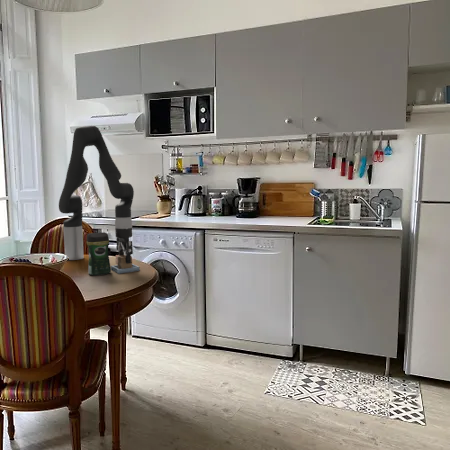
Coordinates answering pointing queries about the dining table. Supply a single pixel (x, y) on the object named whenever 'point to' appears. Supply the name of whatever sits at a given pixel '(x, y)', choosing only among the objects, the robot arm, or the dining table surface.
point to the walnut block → (123, 262)
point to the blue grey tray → (134, 268)
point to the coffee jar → (98, 253)
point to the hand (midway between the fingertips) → (124, 261)
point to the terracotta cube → (117, 259)
